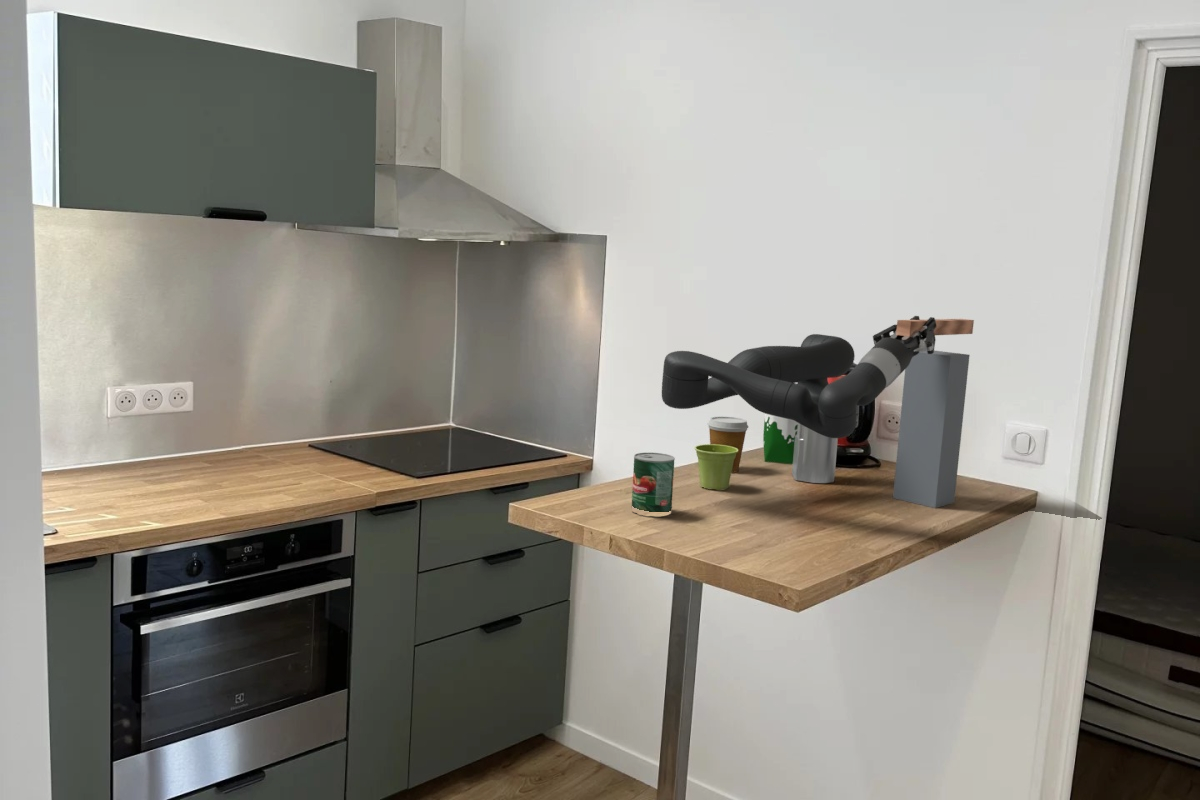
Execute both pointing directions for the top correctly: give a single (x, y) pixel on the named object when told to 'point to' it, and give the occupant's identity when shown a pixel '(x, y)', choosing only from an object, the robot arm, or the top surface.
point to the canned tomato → (653, 482)
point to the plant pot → (715, 465)
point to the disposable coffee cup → (728, 434)
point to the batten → (942, 327)
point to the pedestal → (931, 428)
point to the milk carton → (779, 439)
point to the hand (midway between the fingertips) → (925, 320)
